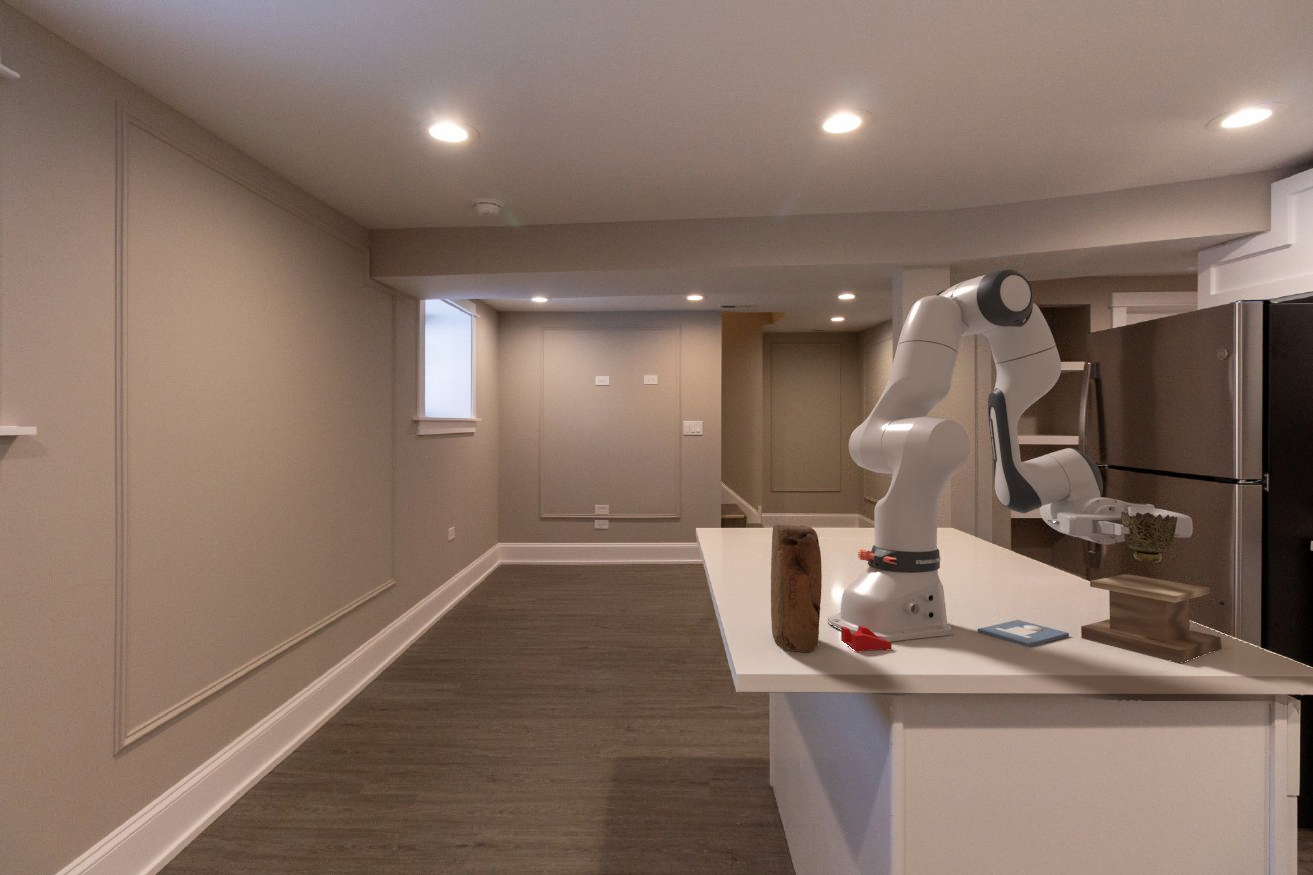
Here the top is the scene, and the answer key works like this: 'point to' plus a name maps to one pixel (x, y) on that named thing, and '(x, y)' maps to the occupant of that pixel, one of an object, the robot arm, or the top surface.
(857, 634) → the bracket
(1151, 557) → the cup
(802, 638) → the brown speckled rock
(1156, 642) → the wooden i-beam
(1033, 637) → the board
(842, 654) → the top surface
